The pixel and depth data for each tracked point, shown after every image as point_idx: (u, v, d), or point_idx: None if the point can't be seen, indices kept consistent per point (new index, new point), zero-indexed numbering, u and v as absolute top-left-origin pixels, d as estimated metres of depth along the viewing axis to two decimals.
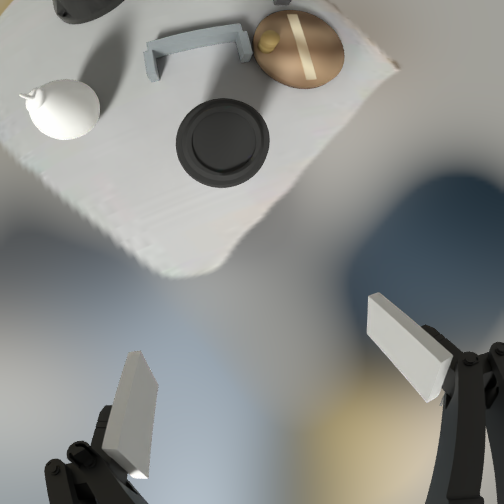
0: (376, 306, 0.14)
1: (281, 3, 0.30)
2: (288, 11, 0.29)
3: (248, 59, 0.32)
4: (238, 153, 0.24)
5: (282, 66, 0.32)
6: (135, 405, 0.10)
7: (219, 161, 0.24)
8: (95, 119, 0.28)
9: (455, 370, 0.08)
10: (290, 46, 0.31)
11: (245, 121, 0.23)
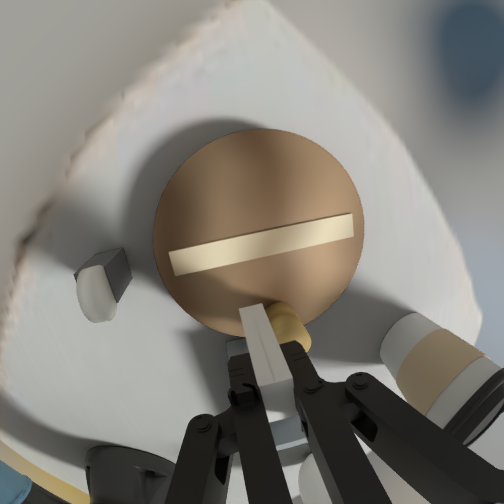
0: (252, 316, 0.15)
1: (127, 266, 0.18)
2: (163, 271, 0.17)
3: None
4: (499, 406, 0.12)
5: (324, 284, 0.19)
6: None
7: (493, 416, 0.13)
8: None
9: (299, 401, 0.09)
10: (273, 268, 0.18)
11: (485, 414, 0.11)
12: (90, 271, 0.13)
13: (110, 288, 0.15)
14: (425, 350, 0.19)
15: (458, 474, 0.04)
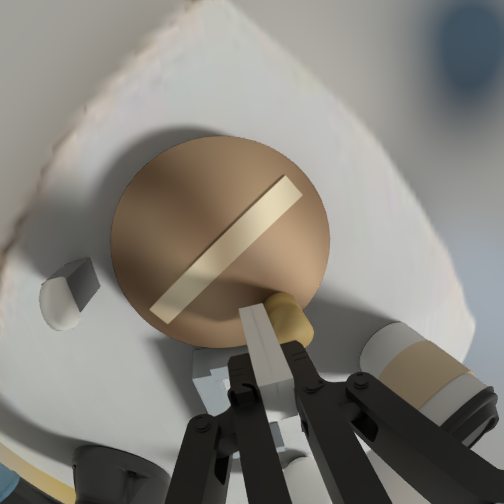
0: (253, 316, 0.15)
1: (94, 276, 0.18)
2: (156, 325, 0.18)
3: None
4: (482, 426, 0.11)
5: (303, 255, 0.18)
6: None
7: (476, 436, 0.12)
8: None
9: (299, 401, 0.09)
10: (244, 271, 0.17)
11: (464, 437, 0.11)
12: (51, 283, 0.13)
13: (73, 298, 0.14)
14: (403, 364, 0.19)
15: (458, 474, 0.04)
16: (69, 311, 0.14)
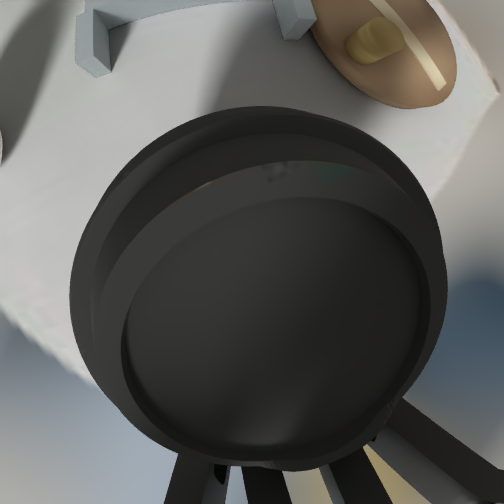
0: None
1: None
2: None
3: (301, 32, 0.14)
4: (345, 394, 0.05)
5: (403, 80, 0.14)
6: None
7: (265, 428, 0.05)
8: None
9: None
10: None
11: (404, 259, 0.04)
12: None
13: None
14: None
15: (459, 474, 0.04)
16: None
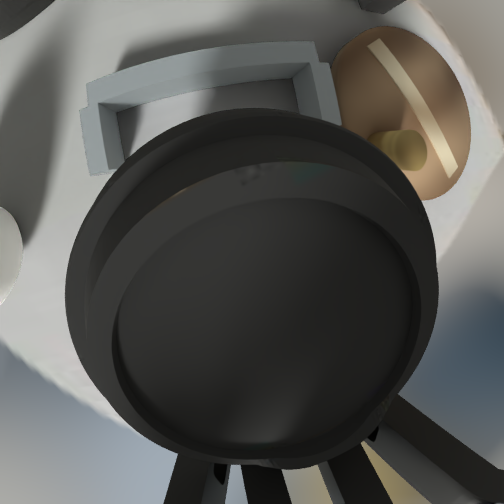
0: None
1: (373, 9, 0.14)
2: (363, 36, 0.13)
3: None
4: (337, 392, 0.05)
5: (416, 176, 0.17)
6: None
7: (258, 427, 0.05)
8: (10, 279, 0.12)
9: None
10: (409, 123, 0.16)
11: (391, 255, 0.04)
12: None
13: None
14: None
15: (459, 474, 0.04)
16: None
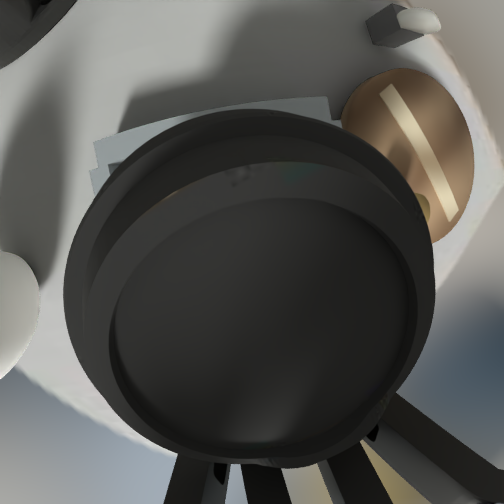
0: None
1: (385, 44, 0.15)
2: (375, 83, 0.14)
3: None
4: (335, 391, 0.05)
5: None
6: None
7: (256, 426, 0.05)
8: (33, 328, 0.14)
9: None
10: (415, 173, 0.17)
11: (385, 254, 0.04)
12: (437, 28, 0.11)
13: (411, 30, 0.12)
14: None
15: (459, 474, 0.04)
16: (416, 25, 0.11)
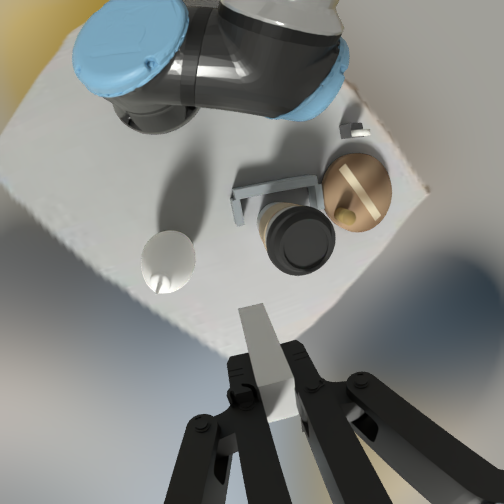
0: (253, 316, 0.15)
1: None
2: (337, 164, 0.42)
3: None
4: (315, 254, 0.34)
5: (357, 222, 0.46)
6: None
7: (302, 260, 0.34)
8: None
9: (299, 401, 0.09)
10: (355, 200, 0.45)
11: (321, 230, 0.33)
12: (370, 134, 0.39)
13: (357, 136, 0.40)
14: None
15: (458, 474, 0.04)
16: None
